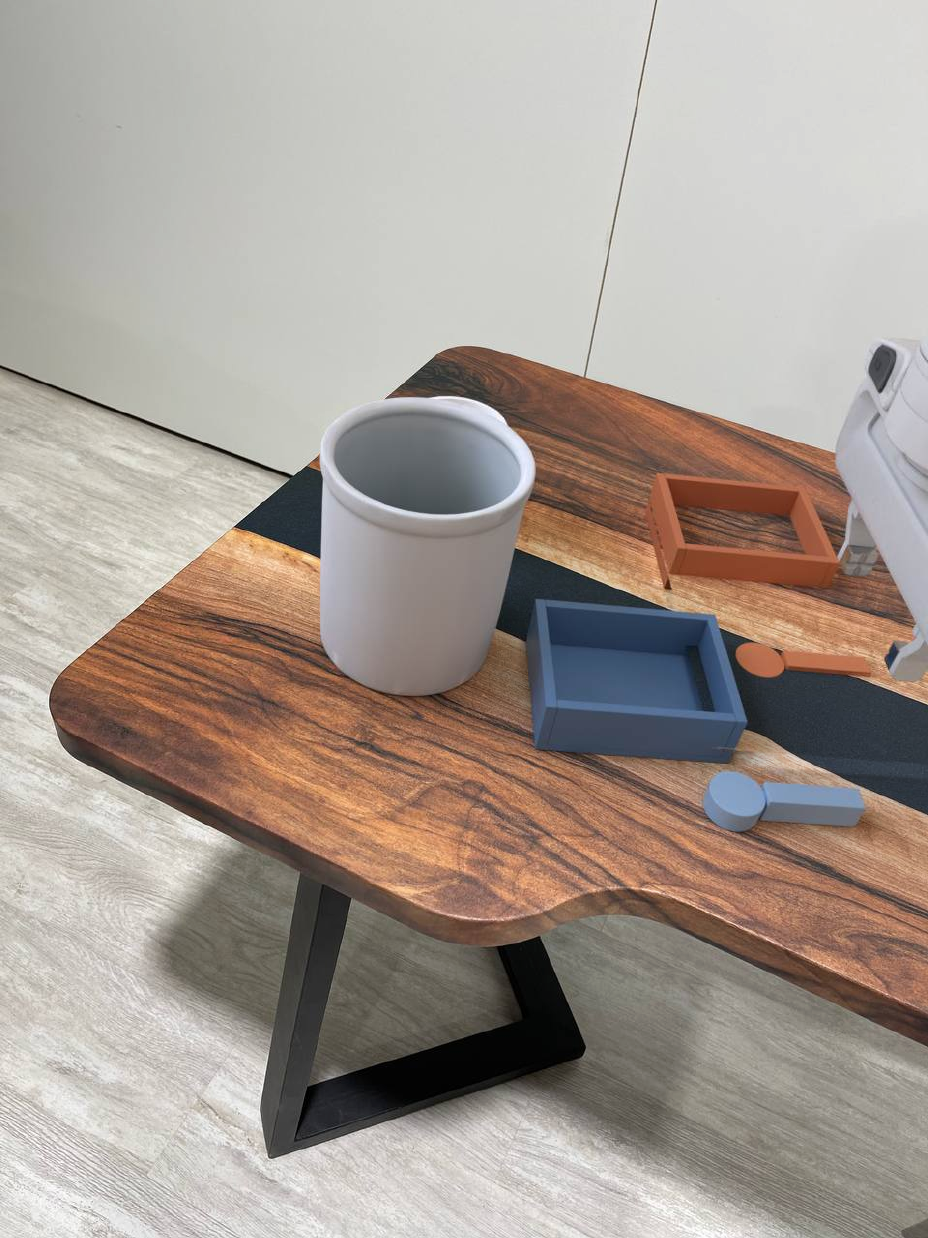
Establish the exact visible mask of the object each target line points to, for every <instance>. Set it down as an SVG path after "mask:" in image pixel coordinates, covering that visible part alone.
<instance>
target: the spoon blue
mask: <svg viewBox="0 0 928 1238" xmlns="http://www.w3.org/2000/svg"><path fill="white" fill-rule="evenodd" d="M702 808H703V810H704V813H705V815H706V816H707V817H708V819H710V820H711V821H712V822H713V823H714V824H715V825H716V826H718V827H720V828H721V829H724V830H726V831H731V832H735V833H736V832H738V833H739V832H745V831H748V830H750V829H753V827H754V826H756V825H757V823H758V820H760V821H763V822H775V823H789V824H805V825H806V824H807V825H818V826H819V825H820V826H833V827H836V826H837V827H847V828H854V827H856V826H857V824H858V822H859V821H860V819H861V817H862V816H863V814H864V813H865V811H866V809H867V807H866V804H865V802H864V799H863V796H862V794H861V792H860V789H859V788H855V787H842V786H830V785H829V786H827V785H815V784H814V785H813V784H803V783H802V784H801V783H788V782H787V783H786V782H773V781H764V782H763V784H762V786H761V785H760V784H759V783H758V782H757V781H756V780H755V779H754V778H752V777H750V776H748V775H747V774H745V773H741V772H740V771H739V772H738V771H733V770H727V771H721V772H719V773H715V775H714V776H712V778H711V779H710V781H709V783H708V786H707V788H706V790H705V793H704V794H703V797H702Z"/></svg>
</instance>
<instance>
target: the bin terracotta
mask: <svg viewBox="0 0 928 1238" xmlns="http://www.w3.org/2000/svg"><path fill="white" fill-rule="evenodd" d="M653 481H654V482H653V484H652V488H651V491H650V494H649V498H648V499H649V500H647V503H646V507H645V511H644V514H645V518H646V521H647V525H648V530H649V533H650V536H651V542H652V545H653V548H654V553H655V557H656V561H657V565H658V569H659V574H660V577H661V581H662V586H663V589H668V590H672V586H671V582H670V578H669V574H670V575H678V576H679V575H680V576H689V577H690V576H691V577H700V578H701V577H702V578H711V579H723V580H731V581H732V580H734V581H735V580H736V581H743V582H744V581H745V582H755V583H764V584H766V583H767V584H776V585H777V584H778V585H787V586H796V587H797V586H798V587H810V588H821V589H829V587H830V585H831V583H832V582H833V579H834V577H835V576H836V573H837V570H838V569H839V566H840V563H839V561H838V559H837V556H838V555H837V554H836V551H835V550H834V547H833V545H832V543H831V540H830V539H829V536H828V534H827V532H826V530H825V528H824V526H823V524H822V521H821V519H820V517H819V515H818V513H817V511H816V508H815V506H814V505H813V502H812V500H811V497H810V496H809V494H808V491H807V489H806V488H805V487H802V486H793V485H783V484H773V483H763V482H753V481H744V480H733V479H723V478H715V477H705V476H694V475H684V474H674V473H667V472H666V473H664V472H656V475H655V477H654V480H653ZM675 506H685V507H694V508H695V507H696V508H705V509H714V510H715V509H716V510H717V509H718V510H726V511H737V512H746V513H755V514H764V515H765V514H766V515H775V516H785V517H789V519H790V521H791V523H792V526H793V528H794V531H795V533H796V535H797V538H798V540H799V542H800V545H801V547H802V549H803V551H804V554H802V553H792V552H781V551H780V552H779V551H770V550H759V549H747V548H738V547H727V546H719V545H707V544H696V543H686V542H685V538H684V534H683V532H682V531H683V530H682V529H681V525H680V522H679V518H678V514H677V510H676V507H675Z"/></svg>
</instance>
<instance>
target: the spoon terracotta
mask: <svg viewBox="0 0 928 1238" xmlns="http://www.w3.org/2000/svg"><path fill="white" fill-rule="evenodd" d="M734 655H735V656H734V657H735V660H736V662H737V663H738V665H739V666H740V667H741V668H742V669H744V671H746V672H748V673H749V674H751V675H753V676H755V677H759V678H765V679H773V678H776V677H778V676H781V675H782V673H783V672H784V670H786V671H793V672H794V671H795V672H805V673H806V672H808V673H817V674H818V673H820V674H829V675H830V674H831V675H841V676H855V677H864V678H865V677H867V678H870V677H871V674H872V671H871V668H870V665H869V664H868V661H867V659H866V657H863V656H851V655H839V654H829V653H817V652H807V651H806V652H805V651H794V650H782V652H781V653H778V652H777V651H776V650H775V649H774V648H772V647H770V646H768V645H765V644H762V643H759V642H745V643H742V644H741V645H739V646H738V647H737V648H736V650H735V654H734Z"/></svg>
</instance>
